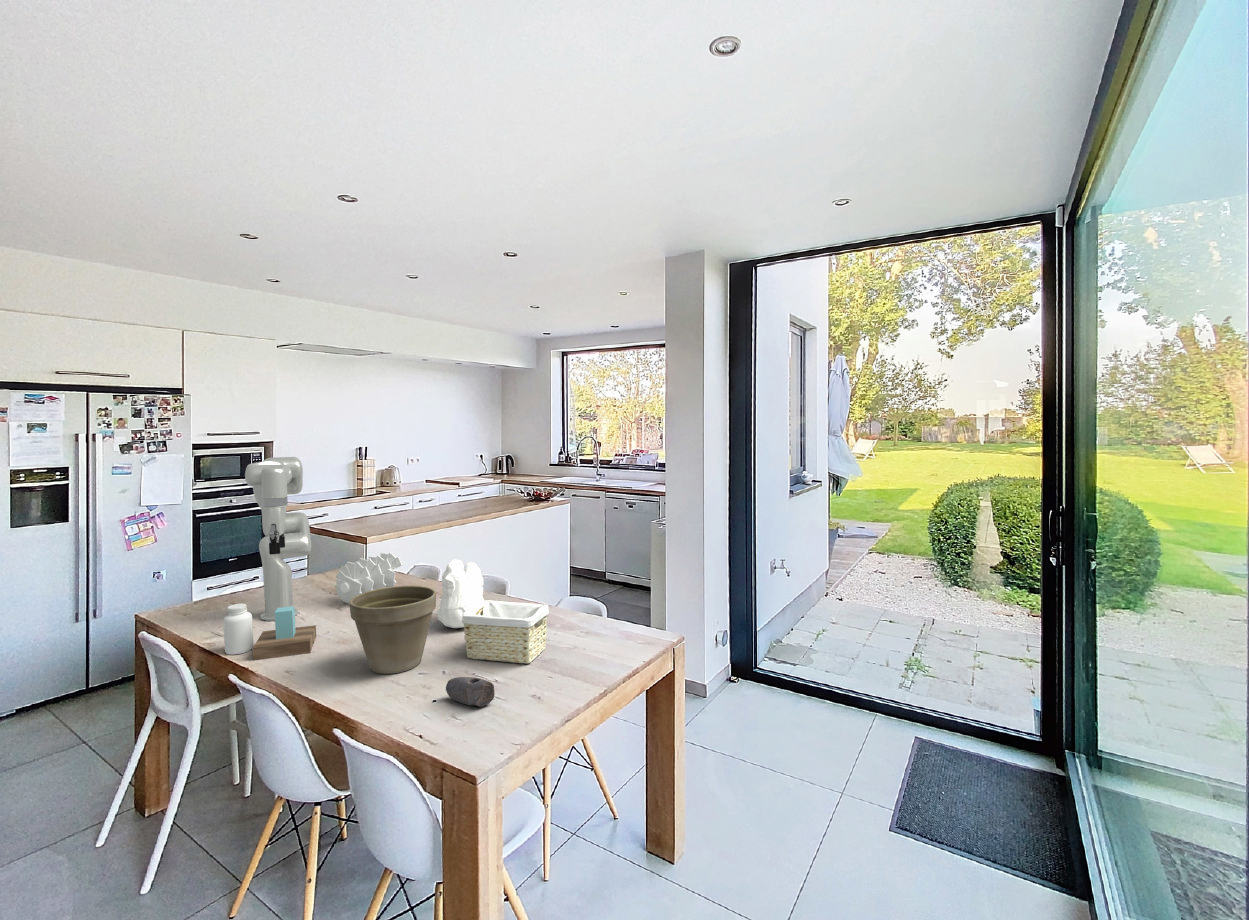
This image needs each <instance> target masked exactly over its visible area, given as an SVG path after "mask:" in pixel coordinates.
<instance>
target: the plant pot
mask: <svg viewBox="0 0 1249 920" xmlns="http://www.w3.org/2000/svg"><path fill="white" fill-rule="evenodd" d="M349 603H350V604H348V605H349V610H350V611H349V612H350V618H351V620H353V621H354V623H355V627H356V630H357V633H358V635H359V639H360V641H361V645H362V648H363V651H364V654H365V657H366V661H367V663H368V666H369V668H370V670H371V671H372V672H374V673H377V674H382V675H383V674H384V675H391V674H398V673H402V672H406V671H410V670H412V669H414V668H416V667H418V666H419V664H420V663H421V661H422V657H423V654H424V650H425V646H426V643H427V638H428V633H429V629H430V625H431V620H432V615H433V612H434V611H435V610H436V607H437V591H436V590H435V589H434V588H431V587H428V586H422V585H397V586H396V585H394V586H393V587H386V588H380V589H375V590H371V591H367V592H364V593H361V594H359V595H357V596H355V597H353V598H352V599H351V600H350V602H349Z"/></svg>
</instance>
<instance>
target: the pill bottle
mask: <svg viewBox="0 0 1249 920" xmlns="http://www.w3.org/2000/svg"><path fill="white" fill-rule="evenodd" d="M226 610H227V615H225V616H224V618H223V621H222V622H223V639H224V640H223V641H224V652H225V654H226V655H233V656H234V655H240V654H241V655H242V654H245V653H248V652H250V651H253V647H254V631H253V629H254V628H253V615H252V612H250V611H248V608H247V604H246V603H235V604H231V605H228V606H227V608H226Z"/></svg>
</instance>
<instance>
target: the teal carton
mask: <svg viewBox="0 0 1249 920" xmlns="http://www.w3.org/2000/svg"><path fill="white" fill-rule="evenodd" d="M295 609H296V608H295V606H294V605H293V606H292V607H282V608H277V610H276V611H275V621H274V624H275V625H274V626H275V629H274V630H276V639H285V638H293V637H294V635H295V633H296V629H295V628H296V615H295Z"/></svg>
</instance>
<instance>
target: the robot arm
mask: <svg viewBox="0 0 1249 920" xmlns="http://www.w3.org/2000/svg"><path fill="white" fill-rule="evenodd" d="M303 474H304V471H303V465H302V462H301V460H300V459H299V458H298V457H296V456H282V457H280V456H279V457H277V456H276V457H268V458H265V459H264V460H262V461H260V462H258V461H257V462H254V463H249V464H248V465H247V466H246V468H245V472H244V477H245V482H246V484H247V485H248V486H249V487H252V489H253V490H252V491H253V495H254V498H255V501H256V502H257V505H258V507H259V509H260V511H261V520H262V521H261V523H262V524H261V526H262V531H263V532H262V533H263V535H265V536H264V537H262V538H261V539H260V540H259V543H258V549H259V554H260V558H261V564H262V565H261V566H262V574H263V575H262V577H263V581H262V582H263V599H264V612H263V613H261V614H260V615H259V616H260V620H262V621H267V622H269V621H270V622H271V621H272V622H273V621H274V622H275V611H276V610H277V608H282V607H292V606H294V594H293V593H294V589H293V572H292V567H291V566H290V564H288V563H287V562H286V559H295V558H301V557H302V558H303V557H306V556H309V555H310V553H311V552H312V538H311V537H312V536H311V530H310V523H309V518H308V516H307V515H306V514H305V513H304V512H300V511H297V512H287V507H288V505H289V504H288V496H289V495H298V494H300V493H301V492H302V490H303V482H304V480H303ZM298 614H299V610H298V609H297V608H295V616H296V615H298Z"/></svg>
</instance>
